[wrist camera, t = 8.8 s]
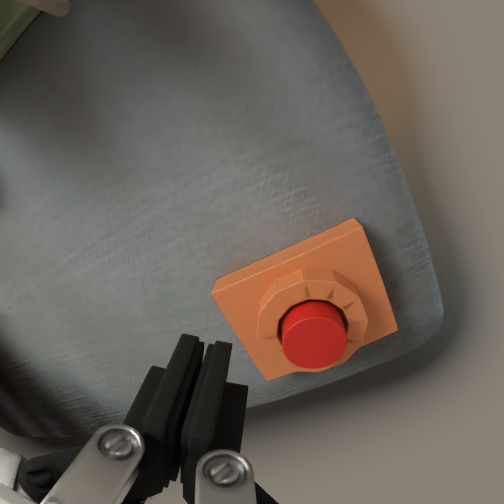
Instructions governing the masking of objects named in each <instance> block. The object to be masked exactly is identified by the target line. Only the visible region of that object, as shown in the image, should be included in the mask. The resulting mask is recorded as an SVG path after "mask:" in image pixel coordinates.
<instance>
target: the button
mask: <svg viewBox="0 0 504 504" xmlns="http://www.w3.org/2000/svg"><path fill="white" fill-rule="evenodd" d="M346 345H347V335H346V331H345V328H344V325H343V321H342V318H341V316H340V314H339V312H338V311H337V310H336V309H335V308H334V307H332V306H331V305H329V304H326V303H323V302H306V303H303V304H300V305H298V306H296V307H295V308H293V309H292V310H291V311H290V312H289V313H288V314H287V316H286V317H285V319H284V321H283V325H282V349H283V352H284V354H285V356H286V357H287V359H288V360H289V361H290V362H291V363H293V364H295V365H296V366H299V367H302V368H306V369H317V368H322V367H326V366H328V365H330V364H332V363H334V362H335V361H336V360H337V359H339V358H340V356H341V355H342V354H343V352H344V350H345V348H346Z"/></svg>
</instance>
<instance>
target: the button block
mask: <svg viewBox="0 0 504 504" xmlns="http://www.w3.org/2000/svg"><path fill="white" fill-rule="evenodd" d="M211 295H212V297H213V298H214V300H215V302H216V303H217V305H218V306H219V308H220V310H221V311H222V313H223V314H224V316H225V318H226V319H227V321H228V322H229V324H230V325H231V327H232V329H233V330H234V332H235V333H236V335H237V336H238V338H239V340H240V341H241V343H242V344H243V346H244V347H245V349H246V350H247V352H248V353H249V355H250V357H251V358H252V360H253V361H254V363H255V364H256V366H257V367H258V369H259V370H260V372H261V373H262V375H263V376H264V378H265V379H266V381H269V380H272V379H275V378H279V377H282V376H285V375H287V374H290V373H293V372H321V371H324V370H327V369H329V368H332V367H335V366H337V365H340V364H342V363H344V362H345V361H346V360H347V359H348V358H349V357H350V356H351V355H352V354H353V353H354V352H355V351H356V350H357V349H358V348H359V347H361V346H364V345H366V344H368V343H371V342H373V341H375V340H378V339H380V338H382V337H384V336H387V335H389V334H391V333H393V332H395V331H398V327H397V324H396V320H395V317H394V314H393V311H392V308H391V304H390V301H389V298H388V295H387V292H386V289H385V286H384V283H383V280H382V278H381V275H380V272H379V269H378V266H377V263H376V261H375V258H374V255H373V252H372V250H371V247H370V244H369V242H368V239H367V237H366V234H365V231H364V229H363V227H362V226H361V225H360V223H359V222H358V221H357V220H356V219H355V218H352V219H349V220H347V221H345V222H343V223H341V224H339V225H336V226H334V227H332V228H330V229H328V230H325V231H323V232H321V233H319V234H317V235H314V236H312V237H310V238H308V239H306V240H303V241H301V242H299V243H297V244H294V245H292V246H290V247H288V248H286V249H283V250H281V251H279V252H277V253H275V254H272V255H270V256H268V257H266V258H263V259H261V260H259V261H257V262H254V263H252V264H250V265H248V266H246V267H243V268H241V269H239V270H237V271H234V272H232V273H230V274H228V275H225V276H223V277H221V278H219V279H217V280H216V283H215V285H214V287H213V290H212V292H211ZM306 302H323V303H326V304H329V305H331V306H332V307H334V308H335V309H336V310H337V311H338V312H339V314H340V316H341V318H342V321H343V325H344V328H345V331H346V335H347V345H346V348H345V350H344V352H343V354H342V355H341V356H340V358H339V359H337V360H336V361H335V362H334V363H332V364H330V365H328V366H326V367H322V368H317V369H306V368H302V367H299V366H296V365H295V364H293V363H291V362H290V361H289V360H288V359H287V357H286V356H285V354H284V352H283V349H282V325H283V321H284V319H285V317H286V316H287V314H288V313H289V312H290V311H291V310H292V309H293V308H295V307H296V306H298V305H300V304H303V303H306Z"/></svg>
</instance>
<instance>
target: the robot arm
mask: <svg viewBox="0 0 504 504" xmlns="http://www.w3.org/2000/svg"><path fill="white" fill-rule="evenodd" d="M231 350H232V343H227V342H221V341H216V343H215V345H214V344H209V345H208V348H207V351H206V354H205V357H204V361H203V352H204V342H200V341H199V337H197V336H192V335H187V334H182V335H181V337H180V339H179V342H178V344H177V346H176V348H175V350H174V353H173V355H172V357H171V359H170V362H169V364H168V366H167V368H166V369H165V368H161V367H157V366H152V367H151V368H150V370H149V372H148V374H147V376H146V378H145V380H144V382H143V384H142V386H141V388H140V390H139V392H138V394H137V396H136V398H135V400H134V402H133V404H132V406H131V408H130V410H129V412H128V414H127V416H126V418H125V420H124V422H123V424H117V423H114V424H108V425H105V426H103V427H101V428H100V429H99V430H98V431H97V432H95V434H94V435H93V436H92V438H91V439H90V440H89V442H88V443H87V444H86V445H84V446H80V447H76V448H73V449H69V450H65V451H61V452H57V453H53V454H48V455H44V456H39V457H35V458H32V459H26V458H24V457H23V456H22V455H21V454H18V453H15V452H12V451H9V450H6V449H3V448H0V504H149V503H150V501H151V499H152V496H154V495H156V494H158V493H161V492H162V490H163V487H167V488H168V485H169V481H170V480H171V481H176V479H177V476H178V473H179V469H180V465H181V483H183V498H184V499H185V500H186V502H187V503H188V504H279V503H277V502H276V501H275V500H274V499H273V498H272V497H271V496H270V495H269V494H268V493H266V492H265V491H264V490H263V489H262V488H261V487H260V486H259V485H258V484H257V483H256V482H255V481H254V473H253V469H252V465H251V464H250V462H249V461H248V460H247V459H246V458H245V457H244V456H243V455H241V454H240V449H241V441H242V434H243V426H244V418H245V410H246V402H247V394H248V386H246V385H241V384H235V383H229V382H226V380H227V374H228V368H229V362H230V356H231ZM202 362H203V364H202Z"/></svg>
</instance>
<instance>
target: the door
mask: <svg viewBox="0 0 504 504" xmlns="http://www.w3.org/2000/svg"><path fill="white" fill-rule="evenodd" d="M69 10H70V3H69V1H68V0H0V61H1V60H2V58H3V57H4V56H5V54H6V53H7V52H8V50H9V49H10V48H11V46H12V45H13V44H14V42H15V41H16V40H17V39H18V37H19V36H20V35H21V34H22V33H23V31H24V30H25V29H26V28H27V27H28V25H29V24H30V23H31V22H32V21H33V20H34V19H35V17H36V16H37V15H38V14H39V13H40V12H41V11H45V12H47V13H50V14H52V15H55V16H57V17H63V16H65V15H66V14H67V13H68V12H69Z"/></svg>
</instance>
